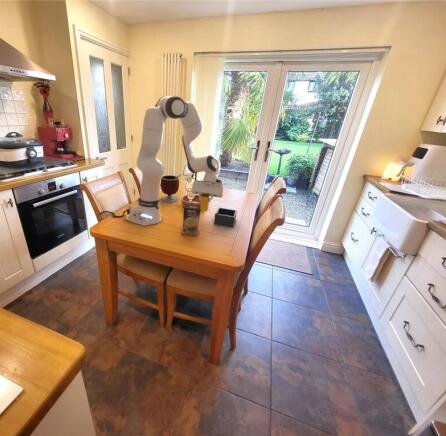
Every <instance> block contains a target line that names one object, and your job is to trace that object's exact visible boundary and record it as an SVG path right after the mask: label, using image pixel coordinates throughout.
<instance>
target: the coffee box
mask: <svg viewBox="0 0 446 436" xmlns="http://www.w3.org/2000/svg"><path fill="white" fill-rule="evenodd" d="M200 208H201V206H200V204H191V203H184V205H183V215H182V217H183V219H182V231H181V234H182V235H188V236H189V235H190V236H199V231H200V230H199V229H200V218H201V210H200Z"/></svg>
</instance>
